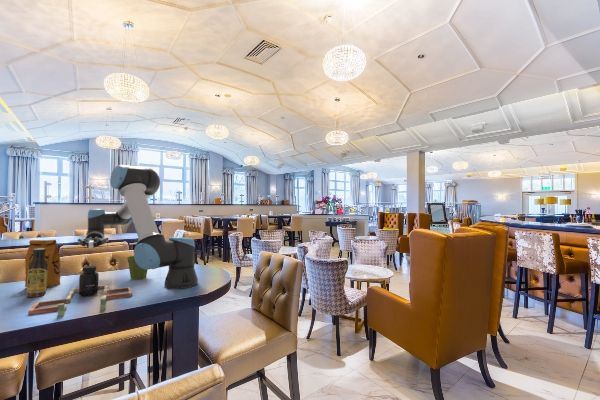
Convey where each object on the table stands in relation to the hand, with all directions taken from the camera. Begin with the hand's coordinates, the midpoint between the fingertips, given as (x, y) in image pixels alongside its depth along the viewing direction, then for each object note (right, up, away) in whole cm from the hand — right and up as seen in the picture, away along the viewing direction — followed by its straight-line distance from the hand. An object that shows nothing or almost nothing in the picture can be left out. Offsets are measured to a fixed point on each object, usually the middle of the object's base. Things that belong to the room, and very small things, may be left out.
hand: (90, 245), depth 133 cm
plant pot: (+9, -21, +23) cm, 32 cm away
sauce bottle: (-17, -21, -8) cm, 28 cm away
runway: (+8, -20, -14) cm, 26 cm away
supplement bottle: (+3, -21, -6) cm, 22 cm away
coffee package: (-27, -21, +7) cm, 35 cm away
